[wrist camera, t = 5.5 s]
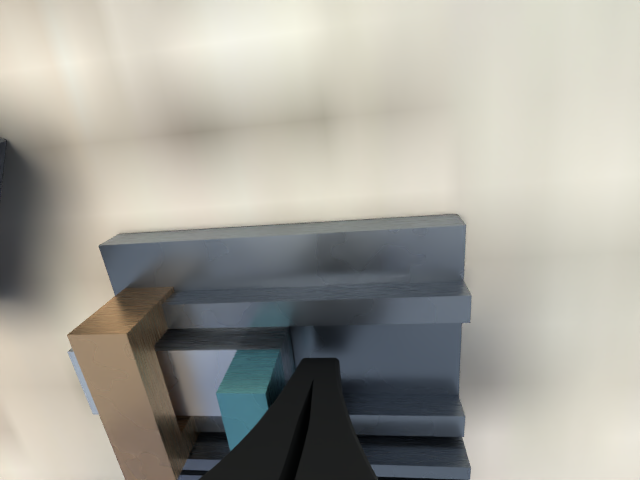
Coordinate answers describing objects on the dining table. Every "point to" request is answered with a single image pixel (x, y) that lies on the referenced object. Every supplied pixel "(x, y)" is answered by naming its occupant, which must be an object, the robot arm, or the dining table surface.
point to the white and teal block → (221, 373)
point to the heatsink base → (305, 333)
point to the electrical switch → (2, 160)
